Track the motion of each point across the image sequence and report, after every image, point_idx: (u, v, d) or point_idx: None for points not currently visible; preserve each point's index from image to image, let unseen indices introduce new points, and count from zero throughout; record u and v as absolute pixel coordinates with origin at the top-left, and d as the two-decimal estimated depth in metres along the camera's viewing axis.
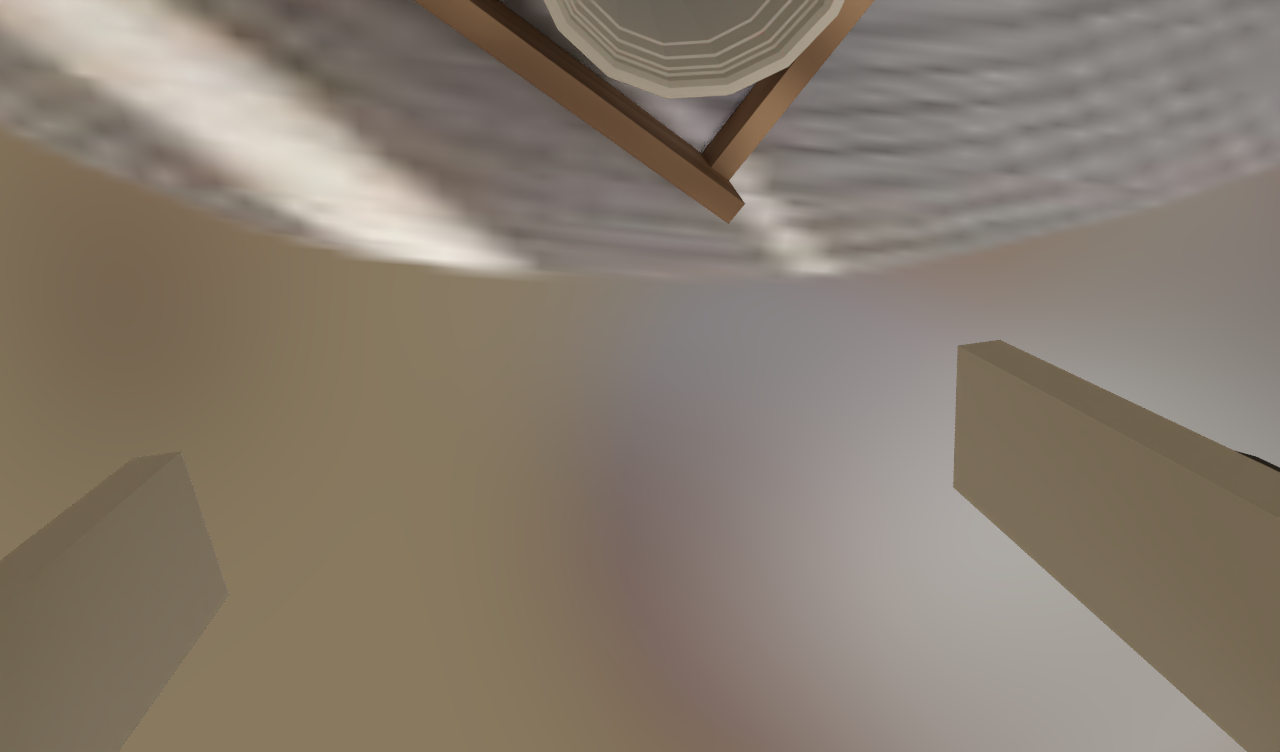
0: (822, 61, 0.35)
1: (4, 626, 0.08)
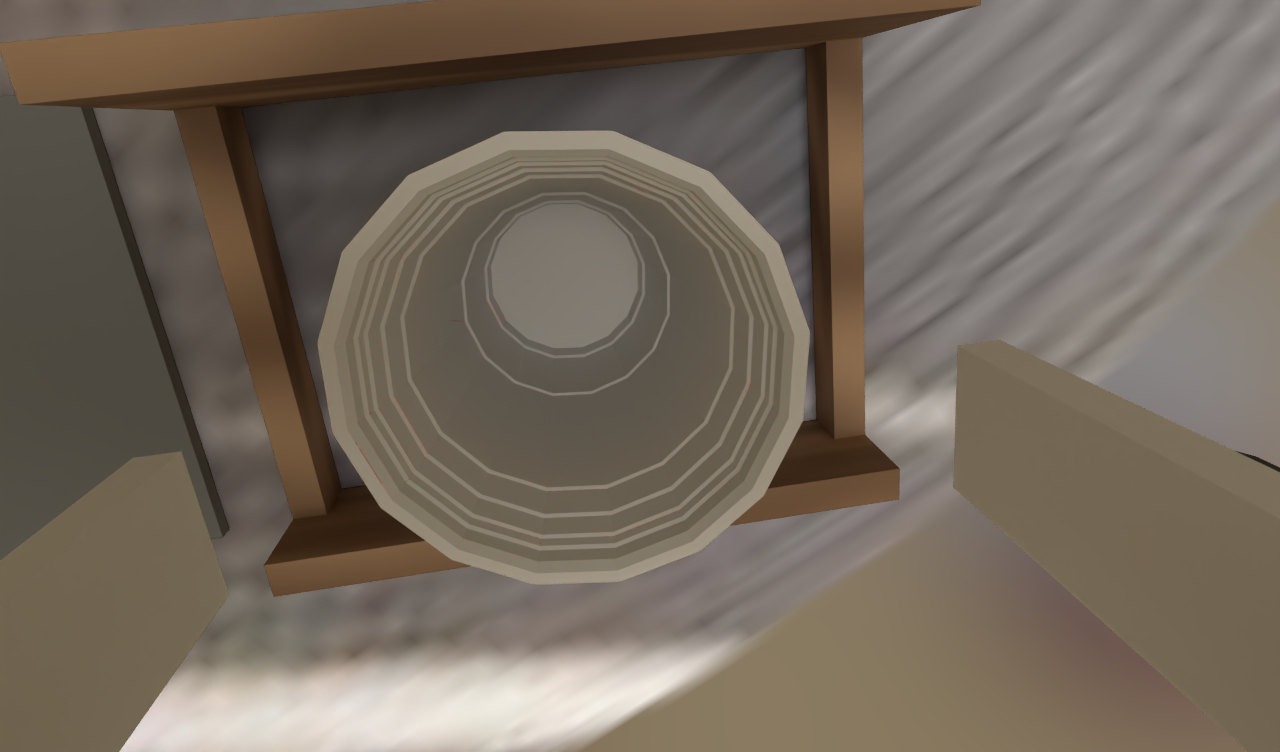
0: (861, 258, 0.26)
1: (4, 626, 0.08)
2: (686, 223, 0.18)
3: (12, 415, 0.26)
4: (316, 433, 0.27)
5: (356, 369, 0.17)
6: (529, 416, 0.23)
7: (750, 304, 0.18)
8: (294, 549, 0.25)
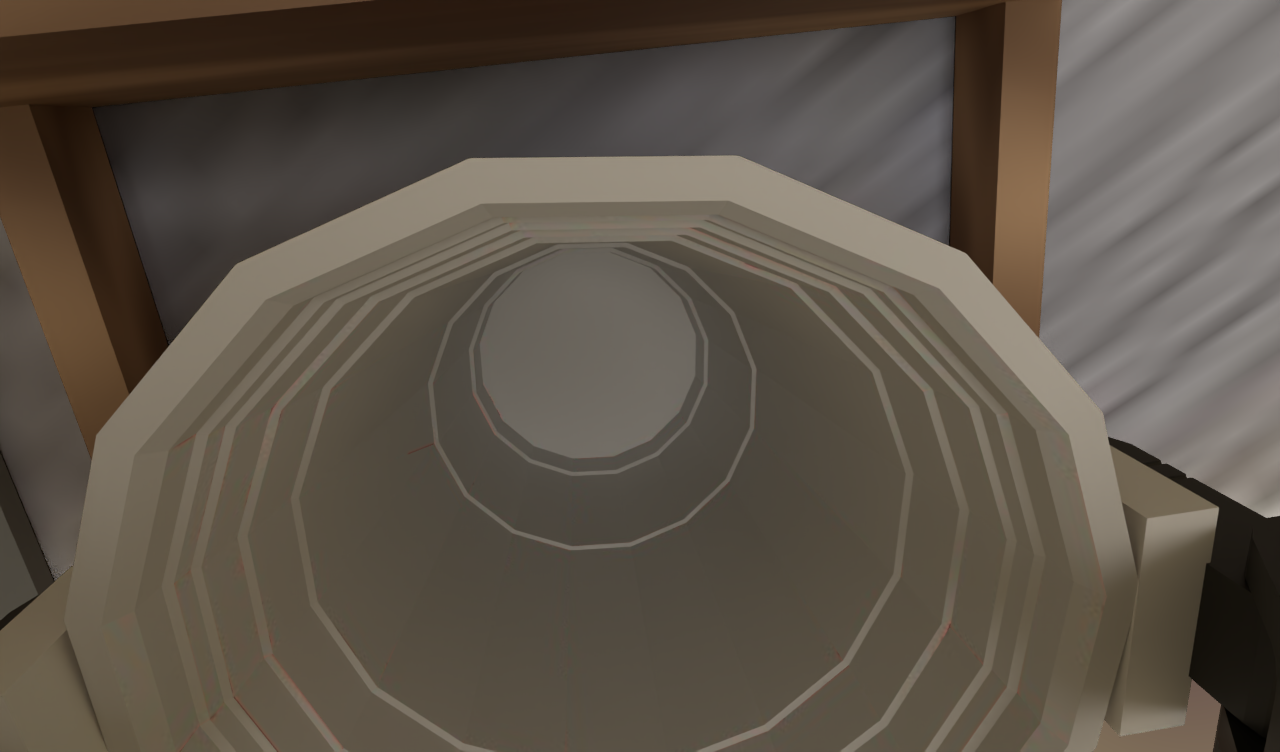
0: (1035, 333, 0.18)
1: None
2: (835, 325, 0.10)
3: None
4: None
5: (171, 648, 0.08)
6: (535, 600, 0.15)
7: (968, 490, 0.09)
8: None
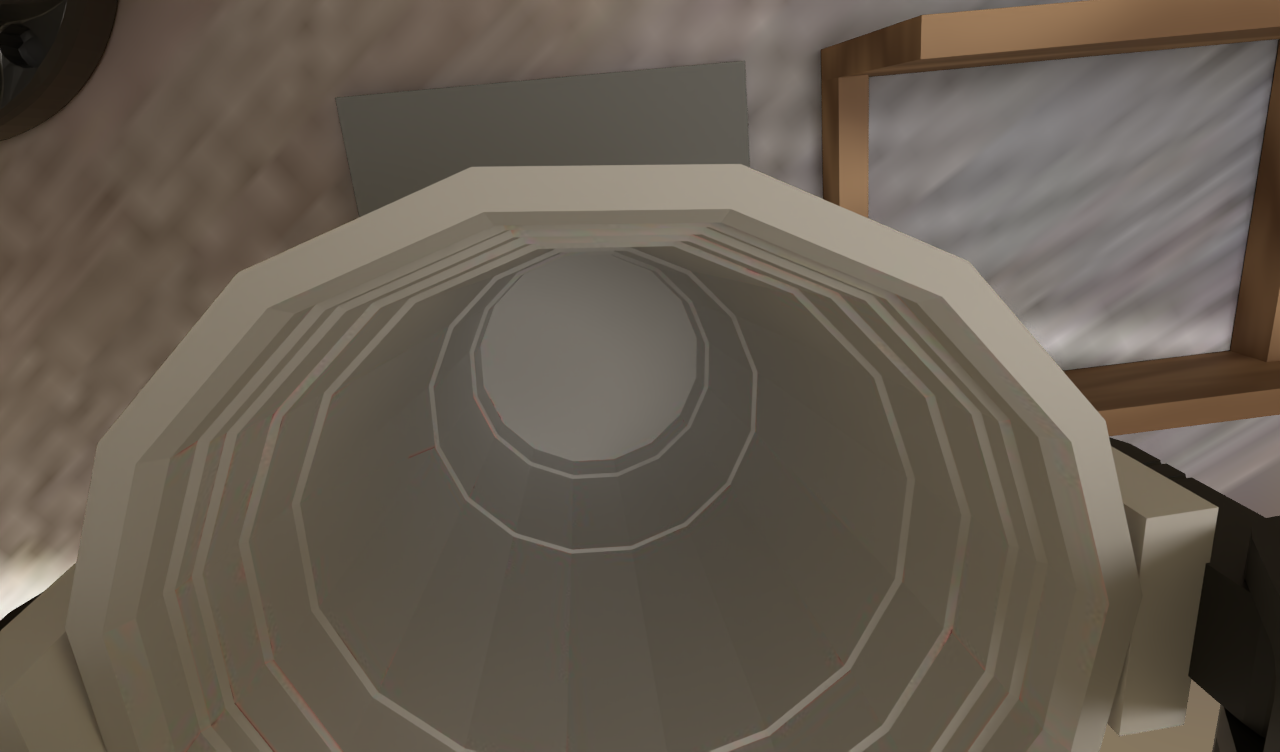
0: None
1: None
2: (837, 331, 0.10)
3: None
4: None
5: (173, 654, 0.08)
6: (536, 604, 0.15)
7: (970, 496, 0.09)
8: None
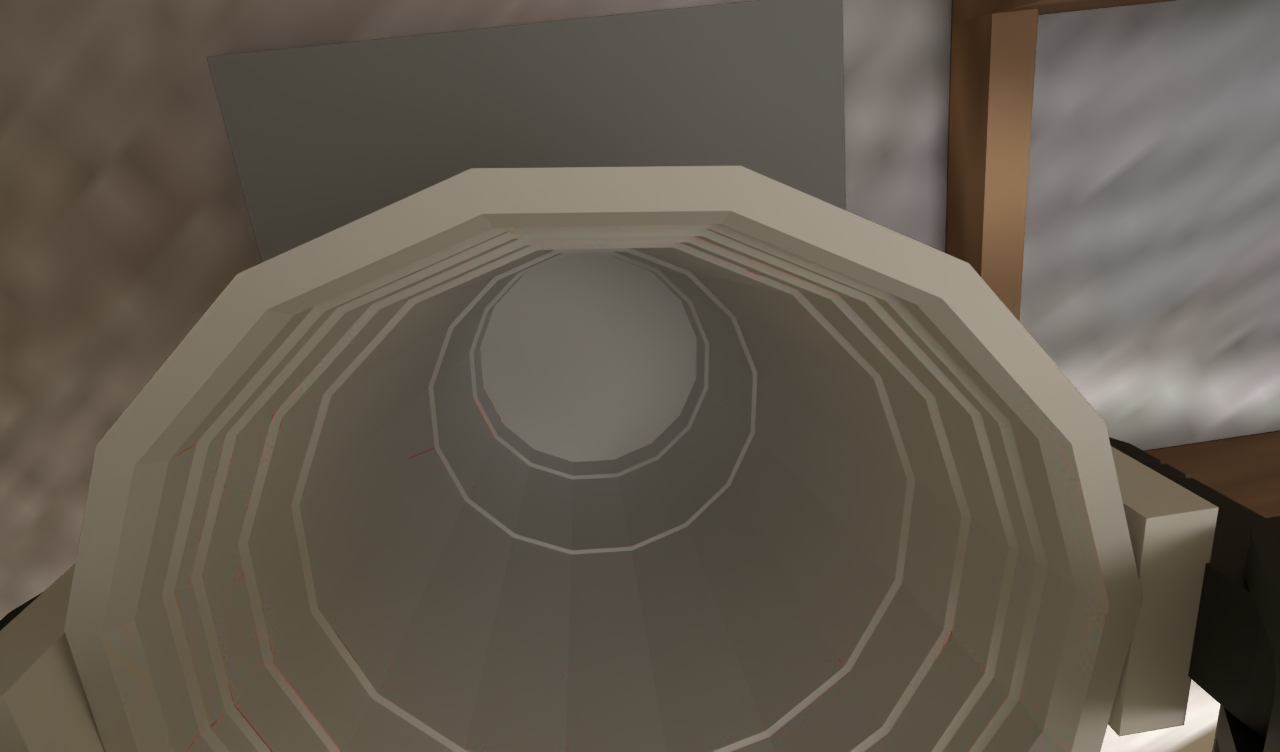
0: None
1: None
2: (837, 332, 0.10)
3: None
4: None
5: (172, 656, 0.08)
6: (535, 605, 0.15)
7: (970, 498, 0.09)
8: None
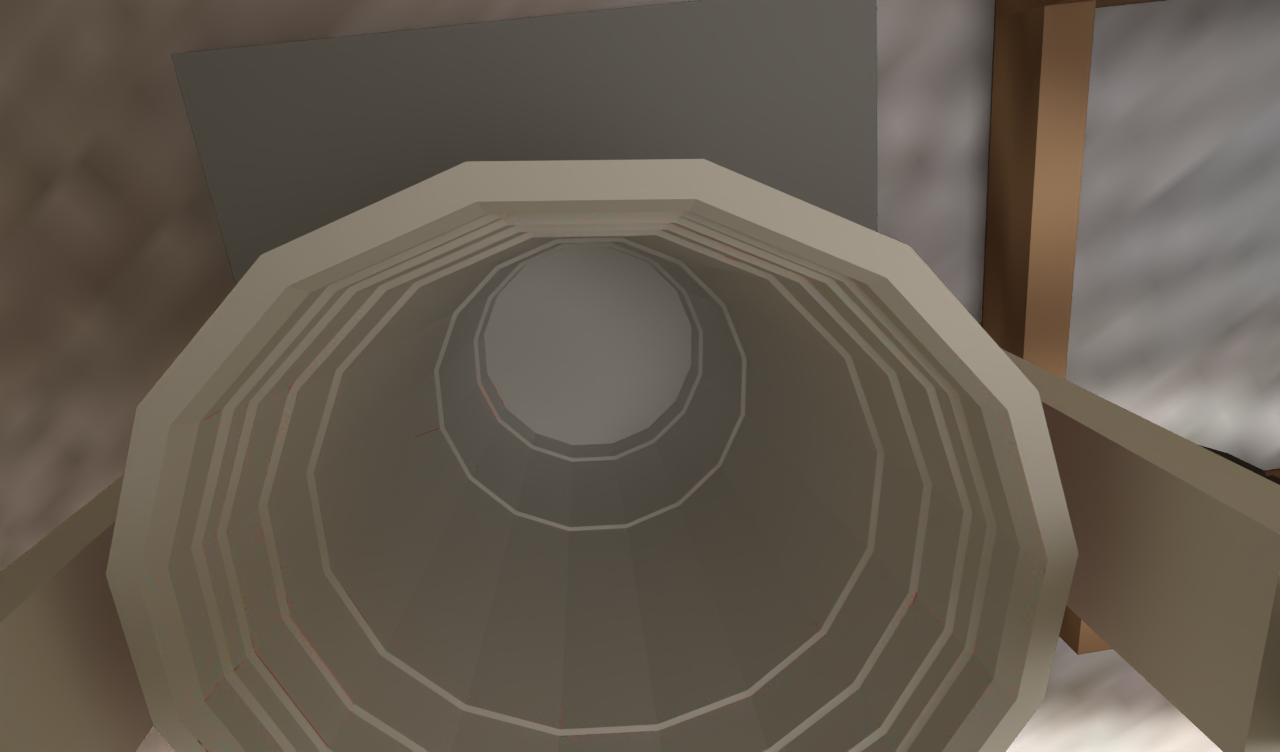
0: None
1: (37, 612, 0.08)
2: (809, 314, 0.10)
3: None
4: None
5: (200, 603, 0.09)
6: (534, 576, 0.15)
7: (930, 466, 0.10)
8: None
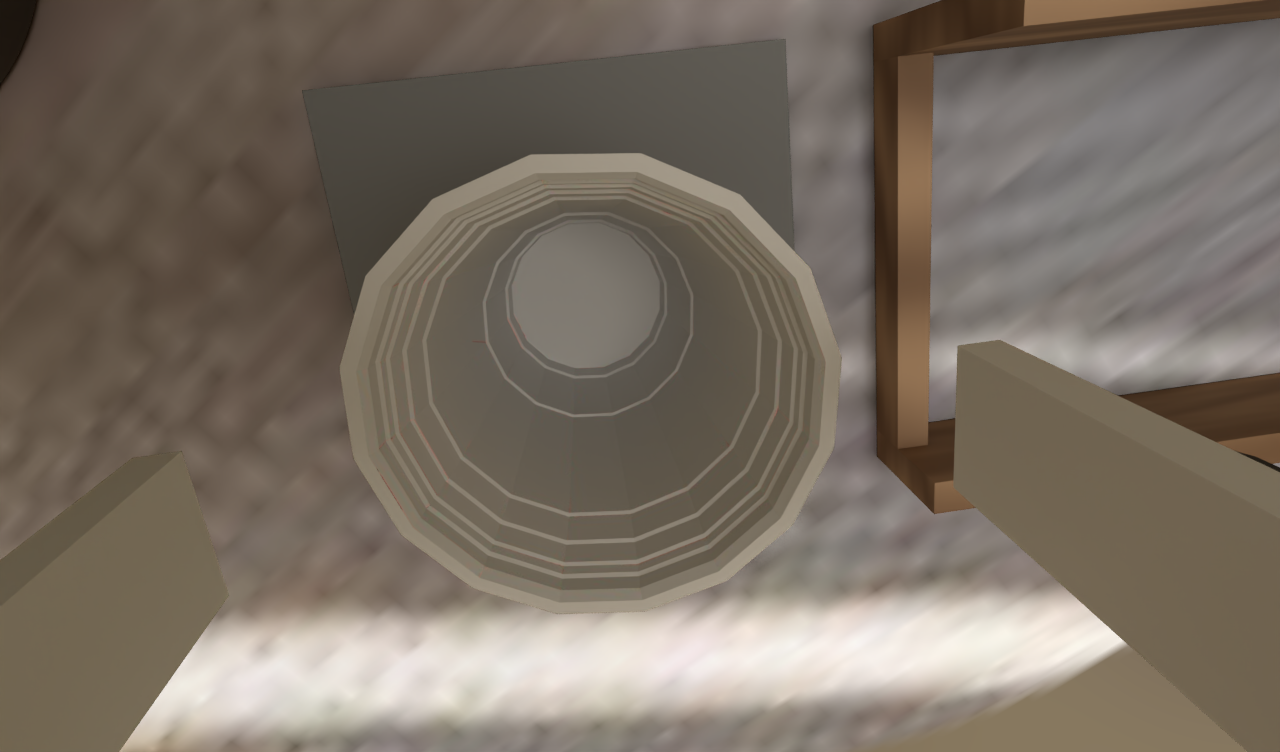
0: None
1: (4, 626, 0.08)
2: (713, 245, 0.18)
3: None
4: None
5: (378, 394, 0.17)
6: (550, 438, 0.23)
7: (779, 328, 0.18)
8: (944, 470, 0.27)
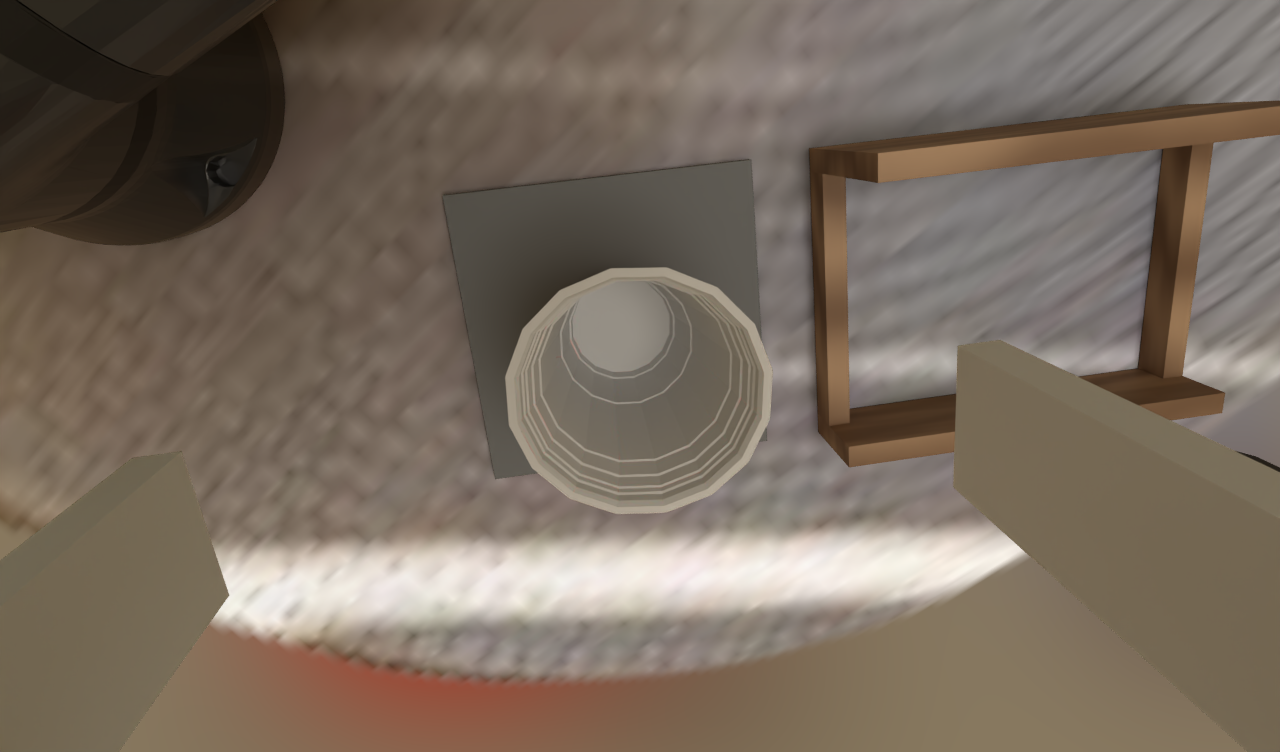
0: (1196, 261, 0.42)
1: (4, 626, 0.08)
2: (704, 305, 0.32)
3: None
4: None
5: (521, 390, 0.30)
6: (603, 417, 0.37)
7: (740, 353, 0.32)
8: (856, 439, 0.41)
